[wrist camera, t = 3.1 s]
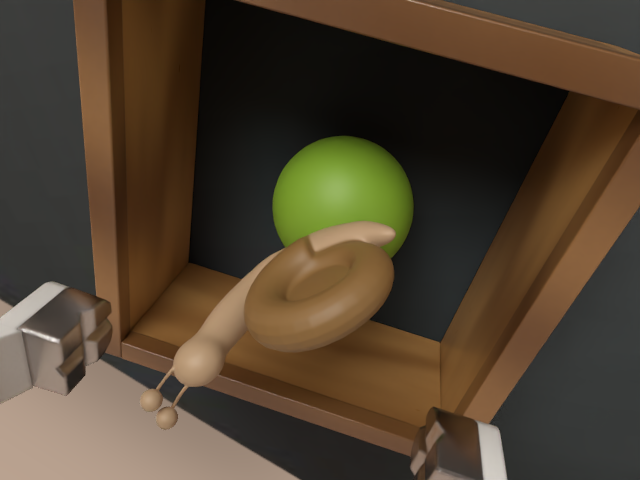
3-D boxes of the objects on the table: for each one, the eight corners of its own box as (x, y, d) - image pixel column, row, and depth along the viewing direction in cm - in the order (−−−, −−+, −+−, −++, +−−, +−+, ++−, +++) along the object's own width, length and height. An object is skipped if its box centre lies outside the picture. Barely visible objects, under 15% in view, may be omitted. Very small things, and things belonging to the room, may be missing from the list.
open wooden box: (187, -70, 16) (64, -93, 11) (623, 44, 15) (727, 81, 10) (173, 269, 25) (99, 351, 19) (451, 359, 24) (455, 472, 18)
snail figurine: (254, 158, 20) (73, 340, 10) (385, 96, 18) (317, 258, 8) (310, 254, 22) (205, 486, 12) (435, 211, 20) (433, 462, 9)
